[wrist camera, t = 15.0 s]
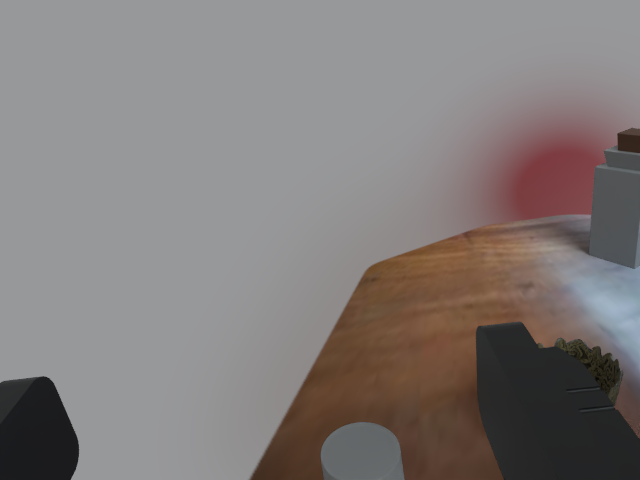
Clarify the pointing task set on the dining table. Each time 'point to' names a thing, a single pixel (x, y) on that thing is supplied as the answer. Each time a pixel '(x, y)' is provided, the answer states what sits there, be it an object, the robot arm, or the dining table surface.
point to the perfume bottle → (618, 203)
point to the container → (362, 454)
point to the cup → (595, 365)
